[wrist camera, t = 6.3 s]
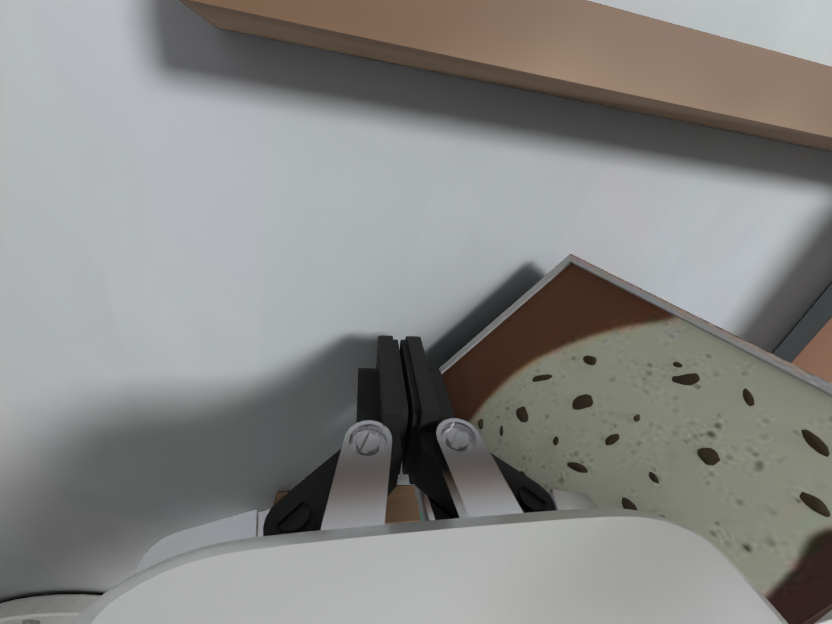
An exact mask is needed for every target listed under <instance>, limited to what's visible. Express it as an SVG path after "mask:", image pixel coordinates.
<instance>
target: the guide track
mask: <svg viewBox="0 0 832 624" xmlns="http://www.w3.org/2000/svg"><path fill="white" fill-rule="evenodd" d="M180 1H181V2H182V3H184V4H185V5H187V6H188V7H189V8H191V9H192V10H193V11H195V12H196V13H197V14H199V15H200V16H202V17H203V18H204V19H206V20H207V21H208V22H210V23H211V24H212V25H214V26H215V27H217V28H221V29H226V30H231V31H236V32H241V33H246V34H251V35H256V36H260V37H265V38H270V39H275V40H280V41H285V42H290V43H295V44H300V45H305V46H310V47H315V48H320V49H325V50H330V51H335V52H340V53H345V54H350V55H355V56H360V57H365V58H370V59H375V60H380V61H385V62H390V63H395V64H399V65H404V66H409V67H414V68H419V69H424V70H429V71H434V72H439V73H444V74H449V75H454V76H459V77H464V78H469V79H474V80H479V81H484V82H489V83H494V84H499V85H504V86H509V87H514V88H519V89H524V90H529V91H534V92H538V93H543V94H548V95H553V96H558V97H563V98H568V99H573V100H578V101H583V102H588V103H593V104H598V105H603V106H608V107H613V108H618V109H623V110H628V111H633V112H638V113H643V114H648V115H653V116H658V117H663V118H668V119H673V120H677V121H682V122H687V123H692V124H697V125H702V126H707V127H712V128H717V129H722V130H727V131H732V132H737V133H742V134H747V135H752V136H757V137H762V138H767V139H772V140H777V141H782V142H787V143H792V144H797V145H802V146H807V147H812V148H816V149H821V150H826V151H831V152H832V67H831V66H827V65H823V64H820V63H816V62H812V61H808V60H805V59H801V58H797V57H794V56H790V55H786V54H783V53H779V52H775V51H772V50H768V49H764V48H760V47H757V46H753V45H749V44H746V43H742V42H738V41H735V40H731V39H727V38H724V37H720V36H716V35H713V34H709V33H705V32H701V31H698V30H694V29H690V28H687V27H683V26H679V25H676V24H672V23H668V22H665V21H661V20H657V19H653V18H650V17H646V16H642V15H639V14H635V13H631V12H628V11H624V10H620V9H617V8H613V7H609V6H606V5H602V4H598V3H594V2H591V1H587V0H180ZM287 493H288V492H277V494H276V498H275V502H274V505H275V504H276V503H277V502H278V501H279V500H280V499H281V498H282V497H283V496H285V495H286V494H287ZM419 521H421V519H420V514H419V510H418V505H417V501H416V496H415V492H414V488H413V485H406V486H396V488H395V489H394V490H393V491H392V492H391V493H390V494H389V496H388V497H387V503H386V514H385V524H396V523H408V522H419Z"/></svg>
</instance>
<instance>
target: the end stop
mask: <svg viewBox="0 0 832 624" xmlns="http://www.w3.org/2000/svg"><path fill="white" fill-rule="evenodd" d="M773 354H774V355H776V356H778V357H780V358H782V359H784V360H786V361H788V362H790V363H792V364H794V365H796V366H798V367H800V368H802V369H804V370H806V371H808V372H810V373H812V374H814V375H816V376H818V377H820V378H822V379H824V380H826V381H828V382H830V383H832V284H831V285H830V286H829V287H828V288H827V289H826V291H825V292H824V293H823V294H822V295H821V297H820V298H819V299H818V300H817V301H816V303H815V304H814V305H813V306H812V307H811V309H810V310H809V311H808V312H807V313H806V315H805V316H804V317H803V318H802V319H801V320H800V322H799V323H798V324H797V325H796V326H795V328H794V329H793V330H792V331H791V332H790V334H789V335H788V336H787V337H786V338H785V340H784V341H783V342H782V343H781V344H780V346H779V347H778V348H777V349H776V350H775V351H774V353H773Z"/></svg>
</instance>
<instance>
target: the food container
mask: <svg viewBox="0 0 832 624" xmlns="http://www.w3.org/2000/svg"><path fill="white" fill-rule="evenodd" d="M439 370H440V372H441V374H442V378H443V381H444V384H445V387H446V390H447V393H448V397H449V400H450V403H451V406H452V409H453V412H454V416H455V418H457V419H462V420H465V421H467V422H469V423H470V424H472V425H473V426H474V427H475V428H476V429H477V431H478V432H479V434H480V435H481V437H482V439H483V441H484V443H485V444H486V446H487V448H488V450H489V452H490V453H492V454H493V455H495V456H496V457H498V458H499V459H501V460H503V461H504V462H506V463H507V464H509V465H510V466H512V467H513V468H515V469H516V470H518V471H519V472H521V473H523V474H524V475H526V476H527V477H529V478H530V479H532V480H533V481H535V482H536V483H538V484H539V485H540V486H542V487H543V488H544V489H545V490H546V491H551V489H552V488H553V489H559V490H564V491H570V492H576V493H582V494H587V495H588V496H589V497H590V498H591V499H592V500H593V502H594V503H595V504H596V505H597V506H598V507H599V508H619V509H630V510H636V511H642V512H646V513H651V514H655V515H658V516H661V517H664V518H667V519H670V520H673V521H675V522H678V523H680V524H682V525H685V526H687V527H689V528H691V529H693V530H695V531H696V532H698V533H699V534H701V535H702V536H704V537H705V538H707V539H708V540H709V541H710V542H712V543H713V544H714V545H715V546H716V547H717V548H718V549H720V550H721V551H722V552H723V553H724V554H725V555H726V556H727V557H728V558H729V559H730V560H731V561H732V562H733V563H734V564H735V565H736V566H737V567H738V568H739V569H740V570H741V572H742V573H743V574H744V575H745V576H746V577H747V578H748V579H749V580H750V581H751V582H752V583H753V584H754V585H755V586H756V588H757V589H758V590H759V591H760V592H761V593H762V594H763V595H764V596H765V598H766V599H767V600H768V601H769V602H770V603H771V604H772V605H773V606H774V608H775V609H776V610H777V611H778V612H779V613H780V614H781V616H782V617H783V618H784V619H785V620H786V621H787V623H788V624H820V623H823V622H826V621H829V620H832V383H830V382H828V381H826V380H824V379H822V378H820V377H818V376H816V375H814V374H812V373H810V372H808V371H806V370H804V369H802V368H800V367H798V366H796V365H794V364H792V363H790V362H788V361H786V360H784V359H782V358H780V357H778V356H776V355H774V354H772V353H770V352H767V351H765V350H763V349H761V348H759V347H757V346H755V345H753V344H751V343H749V342H747V341H745V340H743V339H741V338H739V337H737V336H735V335H733V334H731V333H729V332H727V331H725V330H723V329H721V328H719V327H717V326H715V325H713V324H711V323H709V322H707V321H705V320H703V319H701V318H699V317H697V316H695V315H693V314H691V313H689V312H687V311H685V310H683V309H681V308H679V307H677V306H675V305H673V304H671V303H669V302H667V301H665V300H663V299H661V298H659V297H657V296H655V295H653V294H651V293H649V292H647V291H645V290H642V289H640V288H638V287H636V286H634V285H632V284H630V283H628V282H626V281H624V280H622V279H620V278H618V277H616V276H614V275H612V274H610V273H608V272H606V271H604V270H602V269H600V268H598V267H596V266H594V265H592V264H590V263H588V262H586V261H584V260H582V259H580V258H578V257H576V256H574V255H572V254H570V255H569V256H568V257H566V258H565V259H564V260H563V261H562V262H561V263H560V264H558V265H557V266H556V267H555V268H554V269H553V270H551V271H550V272H549V273H548V274H547V275H546V276H545V277H543V278H542V279H541V280H540V281H539V282H538V283H537V284H535V285H534V286H533V287H532V288H531V289H530V290H528V291H527V292H526V293H525V294H524V295H523V296H522V297H520V298H519V299H518V300H517V301H516V302H515V303H513V304H512V305H511V306H510V307H509V308H508V309H507V310H505V311H504V312H503V313H502V314H501V315H500V316H499V317H497V318H496V319H495V320H494V321H493V322H492V323H490V324H489V325H488V326H487V327H486V328H485V329H484V330H482V331H481V332H480V333H479V334H478V335H477V336H476V337H474V338H473V339H472V340H471V341H470V342H469V343H467V344H466V345H465V346H464V347H463V348H462V349H461V350H459V351H458V352H457V353H456V354H455V355H454V356H453V357H451V358H450V359H449V360H448V361H447V362H446V363H444V364H443V365H442V366H441V367H440V368H439ZM413 488H414V492H415V496H416V501H417V505H418V510H419V514H420V519H421V521H430V520H429V516H428V513H427V510H426V507H425V503H424V499H423V492H422V491H421V490H420V489H418V488H417V487H416V486H415V484H413Z"/></svg>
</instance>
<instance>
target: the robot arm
mask: <svg viewBox="0 0 832 624" xmlns="http://www.w3.org/2000/svg"><path fill="white" fill-rule="evenodd" d="M401 461H402V469H403V474H408V475H409V482H410V484H415V486H416V487H417V488H418V489H420V490H421V491H422V492H423V499H424V503H425V507H426V510H427V513H428V516H429V520H430V521H419V522H408V523H396V524H385V514H386V503H387V497H388V496H389V494H390V493H391V492H392V491H393V490H394V489H395V488H396V485H397V479H398V475H399V474H400V468H401ZM0 624H788V623H787V621H786V620H785V619H784V618H783V617H782V616H781V614H780V613H779V612H778V611H777V610H776V609H775V608H774V606H773V605H772V604H771V603H770V602H769V601H768V600H767V599H766V598H765V596H764V595H763V594H762V593H761V592H760V591H759V590H758V589H757V588H756V586H755V585H754V584H753V583H752V582H751V581H750V580H749V579H748V578H747V577H746V576H745V575H744V574H743V573H742V572H741V570H740V569H739V568H738V567H737V566H736V565H735V564H734V563H733V562H732V561H731V560H730V559H729V558H728V557H727V556H726V555H725V554H724V553H723V552H722V551H721V550H720V549H718V548H717V547H716V546H715V545H714V544H713V543H712V542H710V541H709V540H708V539H707V538H705V537H704V536H702V535H701V534H699V533H698V532H696V531H695V530H693V529H691V528H689V527H687V526H685V525H682V524H680V523H678V522H675V521H673V520H670V519H667V518H664V517H661V516H658V515H655V514H651V513H646V512H642V511H636V510H630V509H619V508H599V507H598V506H597V505H596V504H595V503H594V502H593V500H592V499H591V498H590V497H589V496H588V495H587V494H582V493H576V492H570V491H564V490H559V489H553V488H552V489H551V491H546V490H545V489H544V488H543V487H542V486H540V485H539V484H538V483H536V482H535V481H533V480H532V479H530V478H529V477H527V476H526V475H524V474H523V473H521V472H519V471H518V470H516V469H515V468H513V467H512V466H510V465H509V464H507V463H506V462H504V461H503V460H501V459H499V458H498V457H496V456H495V455H493V454H492V453H490V452H489V450H488V448H487V446H486V444H485V443H484V441H483V439H482V437H481V435H480V434H479V432H478V431H477V429H476V428H475V427H474V426H473V425H472V424H470V423H469V422H467V421H465V420H462V419H457V418H455V416H454V412H453V409H452V406H451V403H450V400H449V397H448V393H447V390H446V387H445V384H444V381H443V378H442V374H441V372H440V370H439V369H429V368H428V364H427V360H426V356H425V353H424V349H423V345H422V342H421V338H420V337H412V336H406V339H405V340H401V342H400V351H399V345H398V340H393V336H379V337H378V350H377V363H376V369H375V368H359V370H358V395H357V423H356V424H354V425H353V426H351V427H350V428H349V429H348V430H347V432H346V434H345V437H344V440H343V444H342V448H341V449H340V450H339V451H338V452H337V453H335V454H334V455H333V456H332V457H331V458H329V459H328V460H327V461H326V462H325V463H323V464H322V465H321V466H320V467H318V468H317V469H316V470H315V471H314V472H312V473H311V474H310V475H309V476H308V477H306V478H305V479H304V480H303V481H302V482H300V483H299V484H298V485H297V486H296V487H294V488H293V489H292V490H291V491H290V492H288V493H287V494H286V495H285V496H283V497H282V498H281V499H280V500H279V501H278V502H277V503H276V504H275V505H274V506H273V507H272V508H271V509H269V510H265V511H262V512H257V509H255V510H252V511H248V512H245V513H241V514H238V515H235V516H231V517H228V518H224V519H221V520H217V521H214V522H210V523H207V524H203V525H200V526H196V527H193V528H190V529H186V530H183V531H179V532H176V533H173V534H171V535H169V536H167V537H164V538H163V539H161V540H160V541H159V542H157V543H156V544H155V545H153V546H152V547H151V548H150V549H149V550H148V551H147V553H146V554H145V555H144V556H143V557H142V558H141V560H140V562H139V564H138V566H137V568H136V570H135V573H134V575H133V576H131V577H129V578H128V579H126V580H124V581H123V582H121V583H119V584H118V585H116V586H114V587H113V588H111V589H110V590H108V591H107V592H106V593H104V594H103V595H88V594H58V595H45V596H34V597H28V598H22V599H15V600H11V601H7V602H3V603H0Z"/></svg>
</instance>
